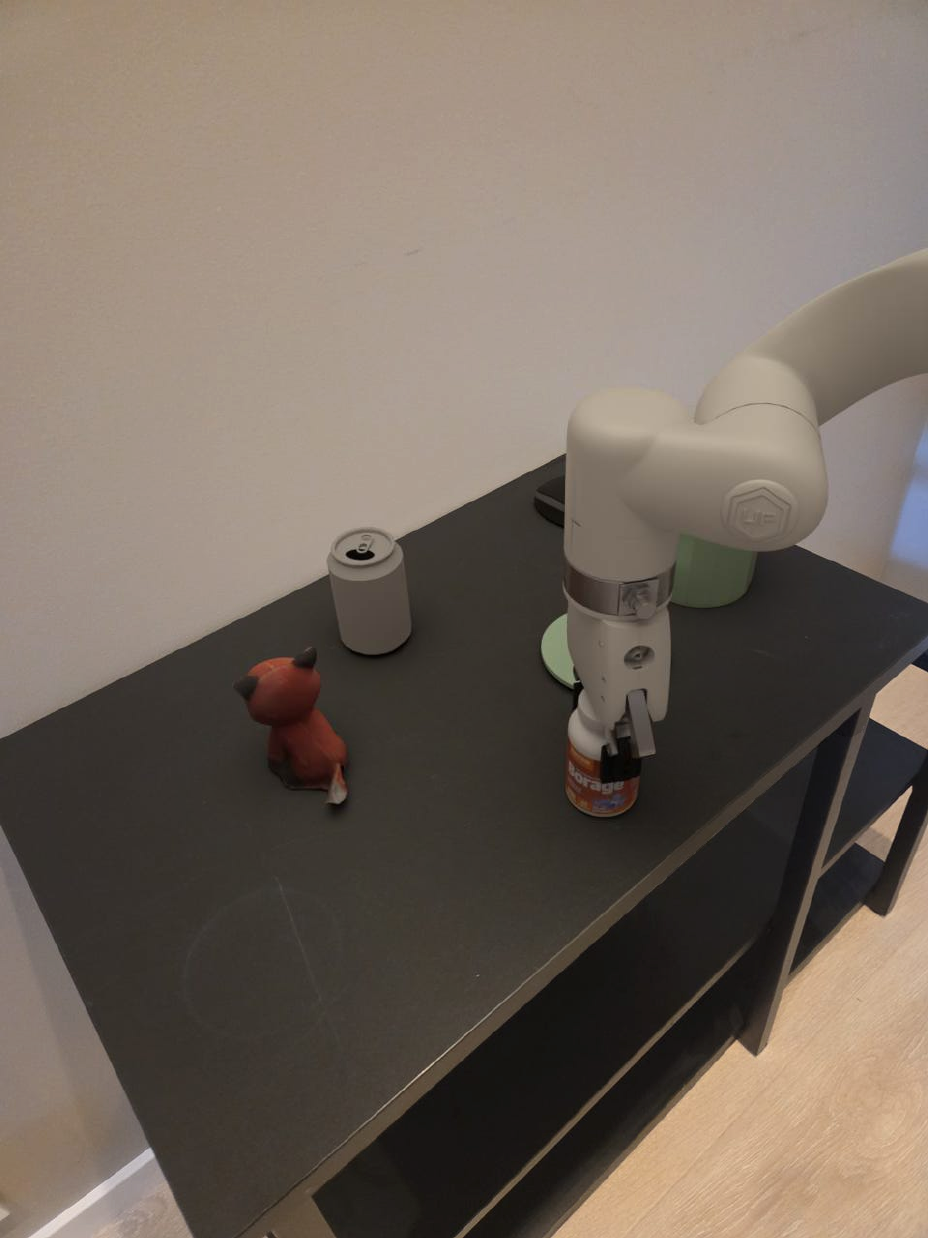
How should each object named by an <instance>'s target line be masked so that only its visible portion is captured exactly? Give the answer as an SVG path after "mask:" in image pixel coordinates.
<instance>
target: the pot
mask: <svg viewBox="0 0 928 1238" xmlns="http://www.w3.org/2000/svg"><path fill="white" fill-rule="evenodd" d="M758 552H759V551H746V550H740V549H735V548H731V547H727V546H722V545H719V544H715V543H712V542H709V541H705V540H702V539H699V538H696V537H692V536H689V535H685V534H682V533H680V538H679V545H678V554H677V561H676V569H675V576H674V584H673V593H672V597H671V599H670V601H669V603H673V604H676V605H679V606H683V607H688V608H697V609H709V608H710V609H711V608H717V607H722V606H727V605H729V604H732V603H734V602H736V601H738V600H739V599H741V598H742V597H743V596H744V595H745V594H746V593H747V591H748V590H749V589H750V585H751V583H752V581H753V576H754V571H755V567H756V563H757V557H758Z"/></svg>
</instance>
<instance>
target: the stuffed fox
mask: <svg viewBox="0 0 928 1238" xmlns="http://www.w3.org/2000/svg"><path fill="white" fill-rule="evenodd" d="M317 660H318V654H317V649H316V647H315V646H313V645H312V646H309V647H307V648H306V649H305V650H304V651H302V652H300V653H298V654H297V655H296V656H295V658H294V657H276V658H271V659H267V660H263V661H261V662H259V663H257V664H256V665H255V666H253V667H252V668H251V669H250V670H249V671H248V673H247V675H244V676H240V677H238V678H236V680H235V681H234V682H233V681H232V684H231V689H232V690H234V691H235V692H237V693H238V695H239V696H240V697H241V698H242V699H243V702H244V704H245V706H246V708H247V711H248V714H249V716H250V718H251V720H253V721H254V722H256V723H259V725H264V726H269V727H271V728H270V732H269V735H268V741H267V763H266V764H265V765H266V766H267V768H270V769H271V770H272V771H273V772H275V773H276V775H278V776H279V777H280V779H281V781H282V784H283V786H284V787H287V788H288V789H290V790H293V789H297V790H306V789H310V790H324V791H327V794H326V799H325V802H324V804H325V805H326V804H333V805H334V804H335V805H339V804H341V803H342V802H343V801H345V800H346V798H347V795H348V791H349V790H348V788H347V786H346V785H345V784H346V782H345V780H344V778H343V771H342V767H343V769H344V770H346V764H347V762H348V759H347V756H348V755H347V754H348V753H347V748H346V744H345V741H344V739H343V738H342V737H341V736H340V735H339V734H338V732H337V731H335V730H334V728H333V727H332V726H331V723H329V721H328V720H327V718H326V717H325V715H324V714H323V713H322V712H321V710H320V709H319V708H318V707H316V703H317V700H318V698H319V695H320V692H321V689H322V680H321V676H320V675H319V672H317V669H315V668H314V666H315V665H316V664H317Z"/></svg>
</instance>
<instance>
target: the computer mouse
mask: <svg viewBox="0 0 928 1238" xmlns="http://www.w3.org/2000/svg"><path fill="white" fill-rule="evenodd" d="M565 481H566V474H563V475H560V476H556V477H554V478H552V479H550V480H548V481H546V482H544V483H542V484H541V485H540V486H539V487H538V488H536V490H535V493H534V495H533V503H534V507H535V508H536V509H537V511H538V512H539V513H540V514H541V515H542V516H544V517H545V518H546V519H548V520H549V521H551V522H552V523H555V524H557V525H558V526H561V527H563V528H564V525H565Z"/></svg>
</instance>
